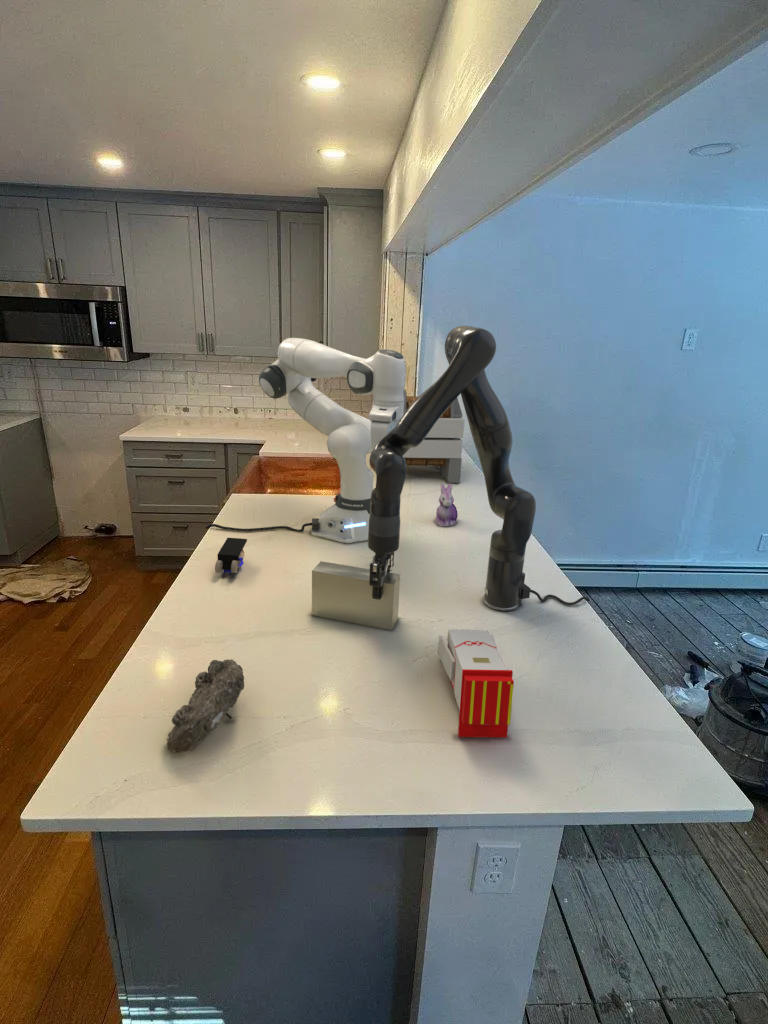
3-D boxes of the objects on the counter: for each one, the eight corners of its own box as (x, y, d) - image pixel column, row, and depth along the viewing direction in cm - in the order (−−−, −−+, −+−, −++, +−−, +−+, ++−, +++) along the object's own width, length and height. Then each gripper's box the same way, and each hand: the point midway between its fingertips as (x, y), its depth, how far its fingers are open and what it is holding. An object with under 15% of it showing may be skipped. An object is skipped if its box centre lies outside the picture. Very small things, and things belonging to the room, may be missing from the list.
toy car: (238, 584, 162) (249, 557, 175) (236, 562, 158) (247, 536, 172) (215, 584, 161) (227, 556, 175) (212, 561, 158) (225, 535, 171)
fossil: (192, 660, 117) (244, 628, 112) (224, 691, 120) (276, 661, 115) (142, 746, 98) (202, 712, 93) (182, 779, 101) (242, 748, 96)
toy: (488, 613, 130) (523, 677, 101) (484, 667, 133) (517, 744, 104) (435, 612, 130) (455, 676, 101) (432, 666, 133) (451, 743, 103)
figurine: (442, 528, 206) (446, 489, 201) (428, 519, 214) (431, 481, 209) (464, 525, 210) (468, 486, 205) (449, 516, 218) (452, 479, 213)
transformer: (382, 463, 289) (386, 382, 275) (445, 464, 293) (451, 384, 279) (390, 482, 257) (394, 392, 243) (460, 483, 261) (468, 394, 247)
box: (311, 615, 145) (311, 570, 141) (320, 604, 151) (320, 561, 146) (391, 630, 140) (394, 584, 136) (397, 618, 145) (400, 574, 141)
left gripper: (386, 404, 169) (384, 449, 174) (367, 415, 151) (365, 465, 155) (407, 406, 168) (404, 451, 173) (390, 417, 149) (387, 468, 154)
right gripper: (391, 543, 128) (387, 608, 133) (406, 522, 141) (402, 582, 146) (359, 538, 130) (357, 602, 135) (377, 517, 143) (375, 577, 148)
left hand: (385, 458), depth 164 cm, fingers open, 8 cm apart
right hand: (381, 591), depth 141 cm, fingers open, 7 cm apart
